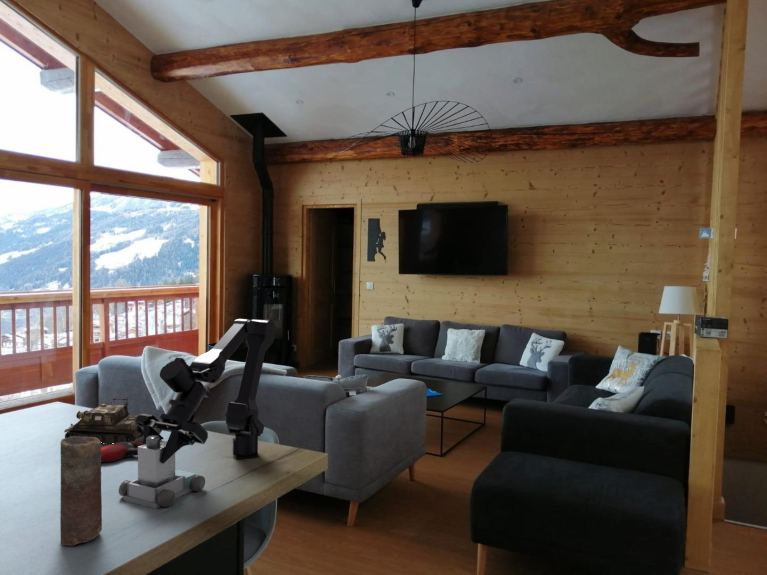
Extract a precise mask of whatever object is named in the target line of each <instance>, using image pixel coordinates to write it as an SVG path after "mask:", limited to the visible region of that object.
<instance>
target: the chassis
mask: <svg viewBox="0 0 767 575" xmlns="http://www.w3.org/2000/svg"><path fill="white" fill-rule="evenodd" d="M205 484H206V478H205V476H203V475H199V474H197V473H194V472H189V471H184V470H180V469H176V468H175V480H173V481H171V482H169V483H166V484H164V485H162V486H160V487H157V488H152V487H147V486H143V485H139V484H138V478H136V479H134V480H128V479H127V480H123V481H122V483H120V485H119V486H118V495H119V496H121V497H122V498H123V501H124V500H125V502H129V503H133V504H137V505H141V506H145V507H149V508H153V509H158V508H160V507H164V508H169V507H171V506H172V505H173V504H174V502H175V500H176V498H177V499H178V498H180V497H182V495H183V496H185V495H187V494H189V493H190V492H191V493H192V492H193V491H194V492H199V493H200V492H202V490H203V489H204V488H205Z"/></svg>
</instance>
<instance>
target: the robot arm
mask: <svg viewBox="0 0 767 575" xmlns="http://www.w3.org/2000/svg"><path fill="white" fill-rule="evenodd" d="M277 329H278V328H277V325H276V324H275V322H274V321H273V320H271V319H259V318H253V319H249V318H237V319H235V320H234V321H233V324H232V326H231V327H230V328H229V329H228V330H227V331H226V333H224V335H223V336H222V337H221V338H220V339H219V340H218V342H216V344H215V345H214V346H213V347H212V348H211V349H210V350H209V351H207V352H205V353H202V354H200V355H199V356H198V357H195V359H194V360H193V361H192V362H191V363H190V364H188V363H187V362H186V360H185V359H184V358H183V357H178V356H177V357H175V358H174V360H172V361H170V362H168V363H167V364H165V365H164V366H162V368H161V370H160V372H159V378H160V379H161V380H162V381H163V382H164V383H165V384H166V385H167V386H168V387H169V388H170V389H171V391H173V393H177V395H176V396H175V398H174V399H170V400H169V402H168V404H169V405H170V407H169V408H168V410H167V411H166V413H161V415H160V416H159V418H160V419H161V421H160V420H159V419H158V418H157V417H155V415H154V414H148V413H139V414H140V415H138V417H137V418H136V420H135V423H136V424H137V425H138V426H139V427H140V428H141V429H142V430H144V433H143V436H142V437H143V445H144V444H146V438H147V437H149V436H160V440H164V437H163V436H162V435H161V434H162V431H164V432H170V434H169V437H168V439H167V444H166V446H165V448H164V451H163V453H162V456H161V460H160V462H161V463H165V462H166V461H167V460H168V459H169V458H170V457H171V456H172V455H173V454H175V455H176V453H177V452H178V451H179V450H181V449H182V448H183V447H185V446H194V444H201V445H205V444H206V442H207V440H208V438H209V432H208V431H207V430H206V429H205V427H203V426H202V424H201V423H200V422H197V421H196V420H197V417H198V412H197V411H196V410H197V409H198V408H199V406H200V404H201V402H202V400H203V399H204V398H211V397H212V395H211V392H210V387H209V386H205V385H204V384H203V383H205V384H207V383H209V384H215V383H218V381H219V380H220V378H221V376H222V375H223V373H224V371H225V370H226V363H227V361H228V360H229V358H230V357H231V356H232V355H233V353H234V352H236V350H237V349H238V347H239V346H240V345H241V344H242V342H244V340H246V344H247V347H248V349H247V354H246V358H245V362H244V367H243V372H242V376H241V381H240V385H239V390H238V394H237V397H236V398H235V400H233V401H229V402H228V404H227V410H226V413H225V414H224V415H225V424H226V427H227V430H228V433H229V434H232V435H233V436H234V437H233V438H232V439H231V445H232V446H231V453H232V455H233V456H234V459H235V460H240V459H250V458H251V459H252V458H258V457H260V454H259V439H258V438H259V437H260V436H261V435H262V434H264V429H265V425H264V424H263V423H262V421H261V420H260V419H259V408H258V406H257V402H256V398H257V393H258V388H259V386H260V385H259V384H260V378H261V375H262V370H263V366H264V362H265V356H266V353H267V350H268V349H269V348H270V347H271V345H273V343H274V341H275V337H276V335H277V332H278V330H277Z"/></svg>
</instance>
